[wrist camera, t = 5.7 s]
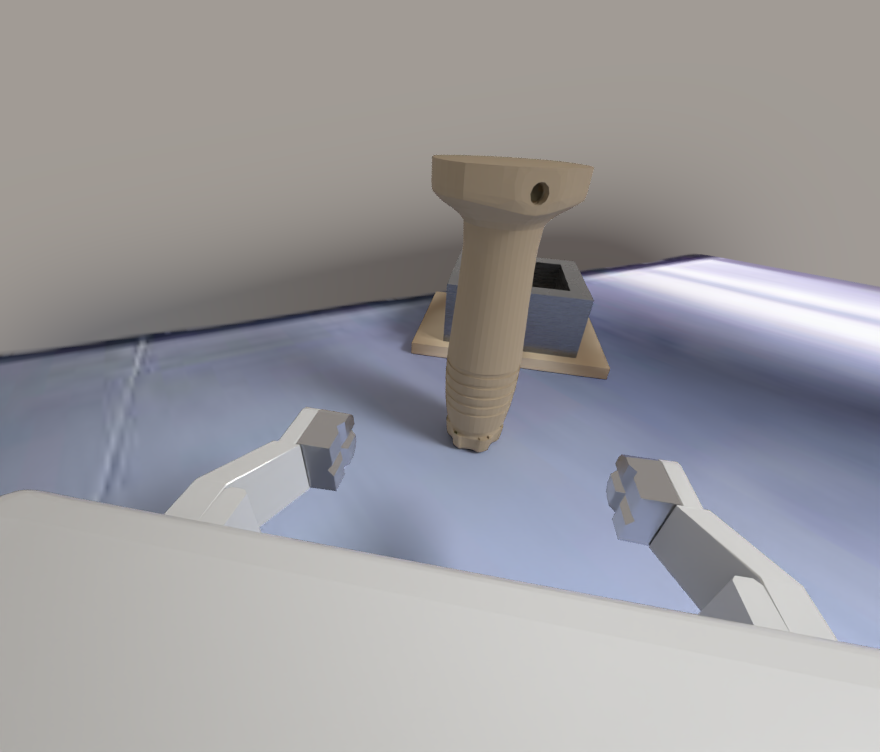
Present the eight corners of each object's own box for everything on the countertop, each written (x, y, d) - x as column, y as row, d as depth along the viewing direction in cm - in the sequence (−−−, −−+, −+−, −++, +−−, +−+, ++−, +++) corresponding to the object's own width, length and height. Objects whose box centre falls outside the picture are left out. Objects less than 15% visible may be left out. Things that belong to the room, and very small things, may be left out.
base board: (582, 317, 39) (585, 308, 39) (606, 379, 29) (610, 368, 29) (435, 300, 41) (436, 291, 40) (411, 353, 31) (411, 342, 30)
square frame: (562, 309, 38) (574, 261, 35) (575, 358, 30) (593, 300, 27) (457, 297, 39) (461, 249, 36) (443, 341, 31) (447, 283, 28)
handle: (413, 420, 24) (418, 152, 16) (501, 405, 26) (548, 159, 17) (435, 476, 20) (459, 164, 12) (536, 454, 22) (619, 170, 14)
